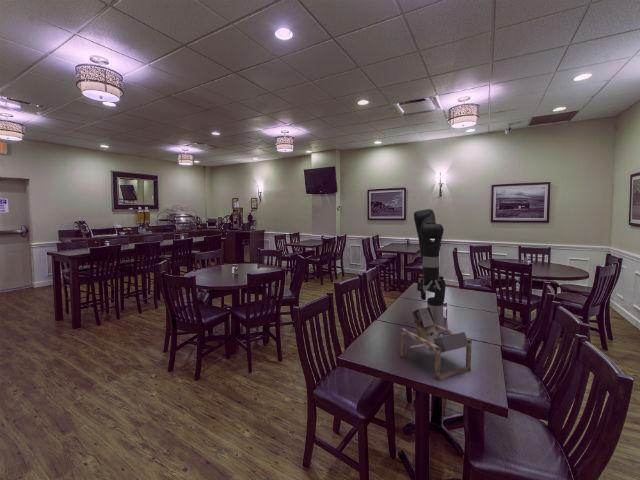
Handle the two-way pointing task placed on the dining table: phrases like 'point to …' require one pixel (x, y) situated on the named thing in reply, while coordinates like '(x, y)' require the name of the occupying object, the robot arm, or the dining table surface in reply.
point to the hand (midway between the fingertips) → (430, 298)
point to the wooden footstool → (438, 352)
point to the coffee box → (425, 324)
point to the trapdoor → (449, 342)
